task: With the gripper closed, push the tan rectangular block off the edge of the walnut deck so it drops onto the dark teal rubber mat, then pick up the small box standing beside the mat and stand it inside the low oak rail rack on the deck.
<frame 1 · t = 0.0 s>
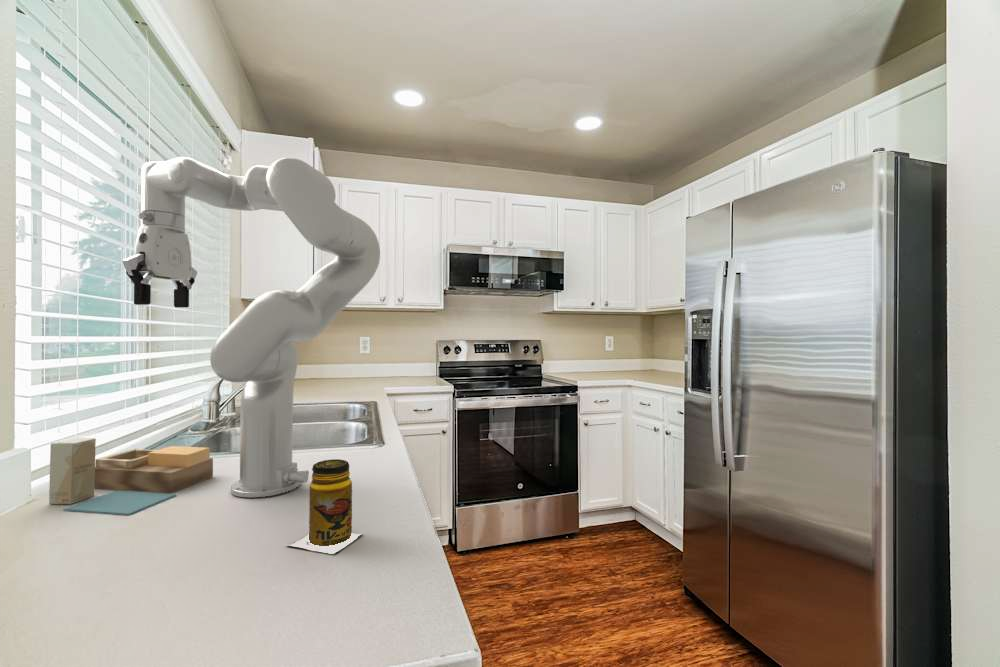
hand: (162, 306, 100), 37 cm above the countertop, tool pointing down, fingers open, 9 cm apart
box: (72, 500, 89), on the countertop
tan rectangular block: (179, 462, 100), point 4 cm above the countertop, touching deck
condiment: (326, 542, 72), on the countertop
deck: (154, 482, 100), on the countertop
mat: (122, 502, 88), on the countertop
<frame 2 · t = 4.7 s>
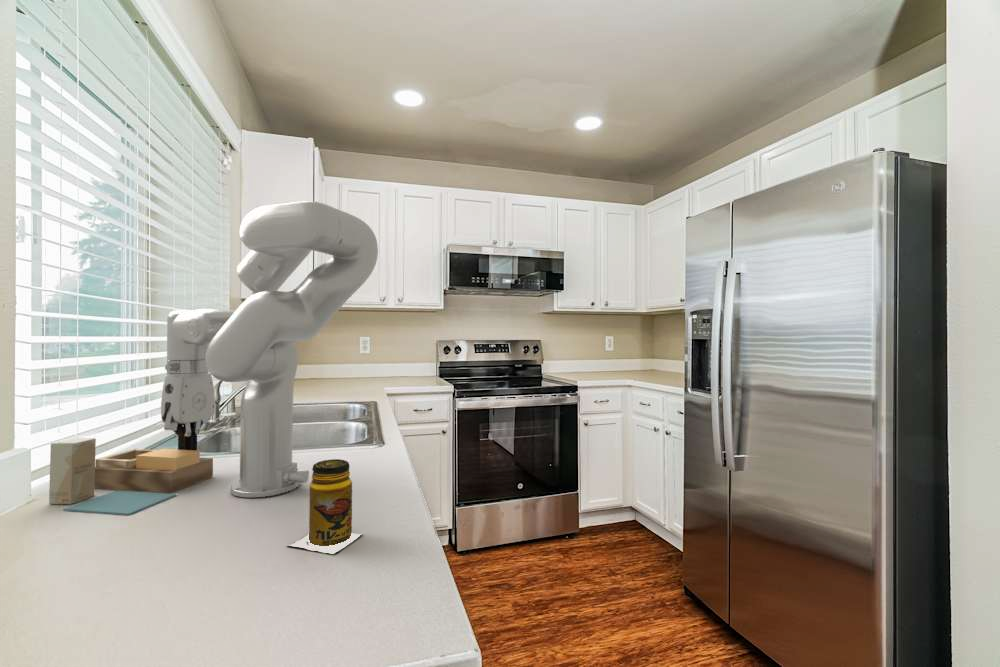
hand: (187, 453, 102), 5 cm above the countertop, tool pointing down, fingers closed
tan rectangular block: (168, 465, 98), point 4 cm above the countertop, touching gripper
everything else where it was.
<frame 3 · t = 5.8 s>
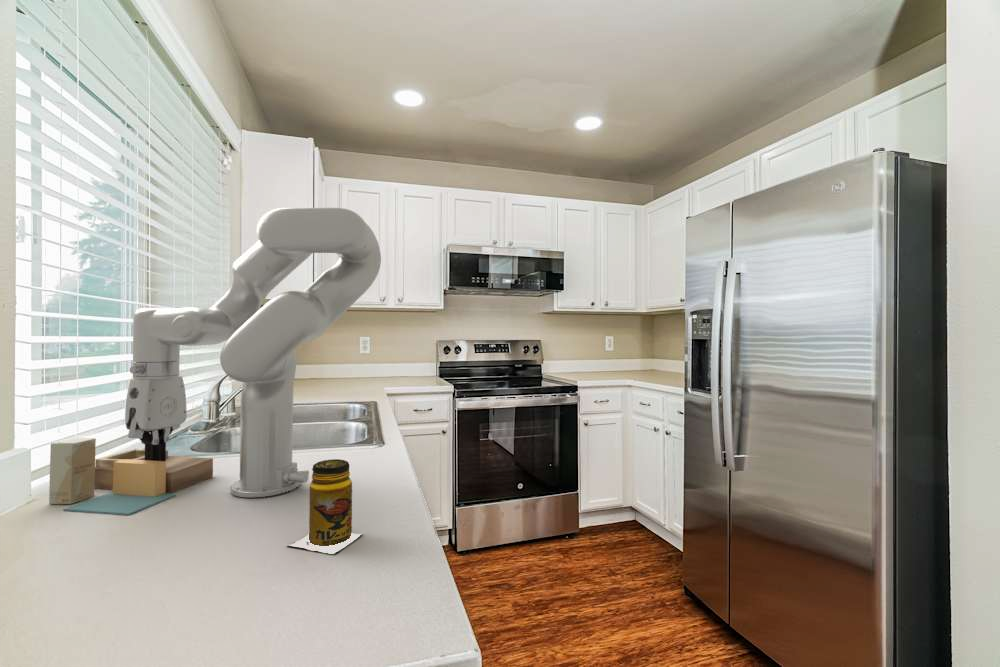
hand: (155, 463, 95), 5 cm above the countertop, tool pointing down, fingers closed
tan rectangular block: (145, 475, 93), point 3 cm above the countertop, tilted 89°, touching gripper, mat
everything else where it was.
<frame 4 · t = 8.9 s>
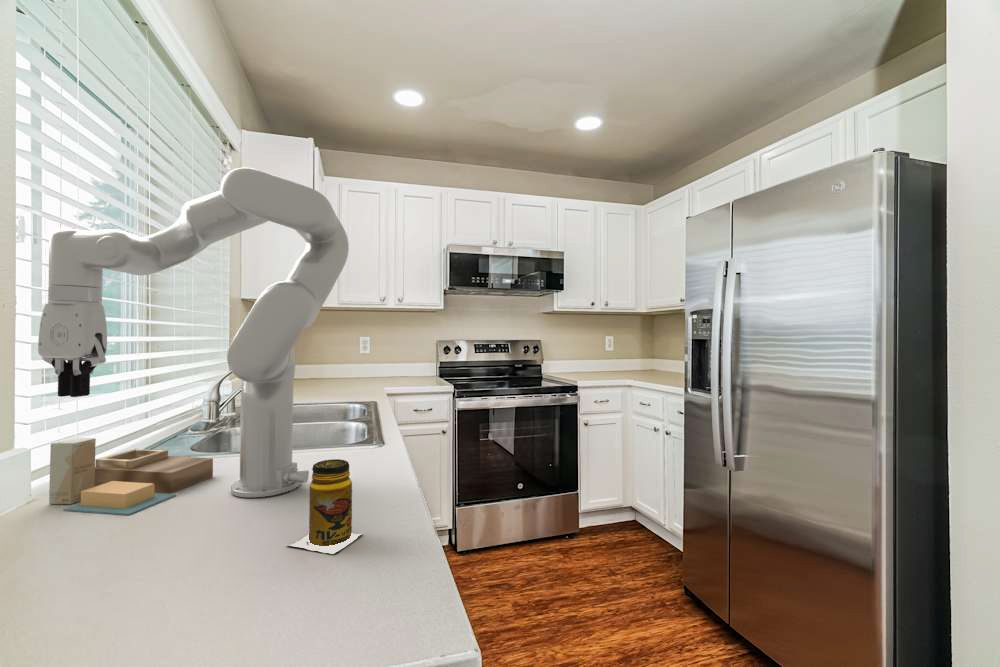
hand: (73, 395, 89), 19 cm above the countertop, tool pointing down, fingers closed
tan rectangular block: (118, 487, 88), point 3 cm above the countertop, tilted 180°, touching mat
everything else where it was.
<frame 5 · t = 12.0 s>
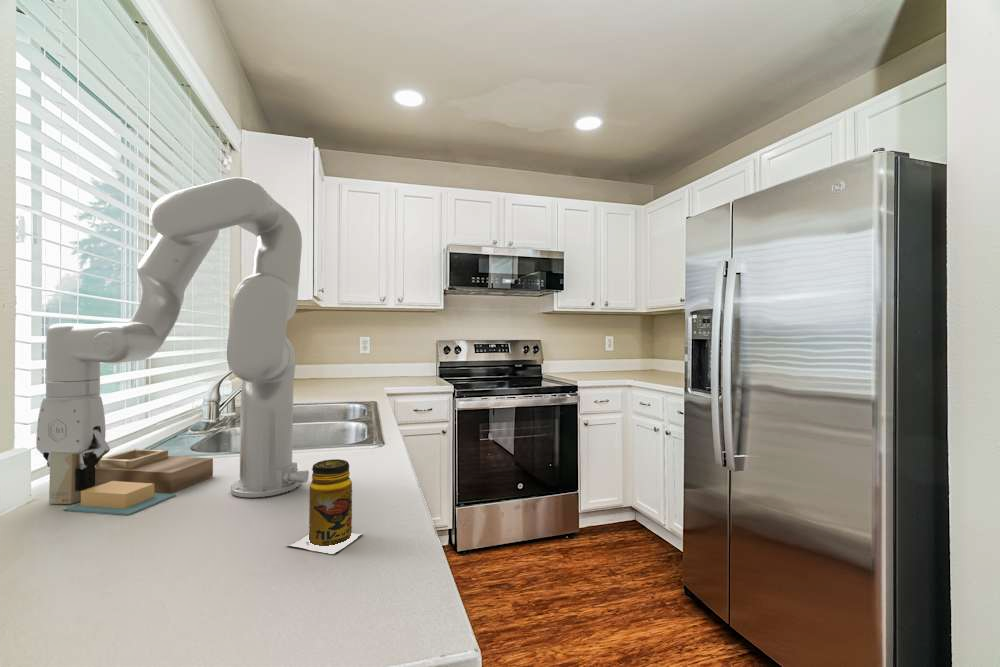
hand: (72, 486, 89), 2 cm above the countertop, tool pointing down, fingers closed on box, 4 cm apart
box: (72, 500, 89), on the countertop, touching gripper
everything else where it was.
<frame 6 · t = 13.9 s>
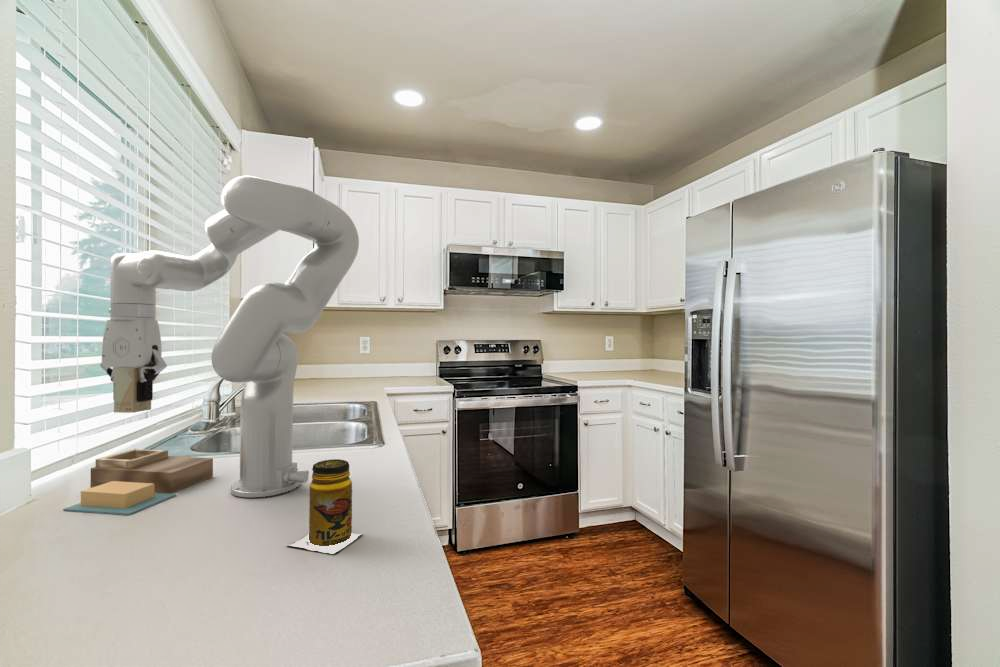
hand: (133, 399, 100), 17 cm above the countertop, tool pointing down, fingers closed on box, 4 cm apart
box: (133, 412, 100), point 14 cm above the countertop, touching gripper
everything else where it was.
when the fingers open (7 cm above the countertop, at t = 16.1 s): box stays where it is, resting on deck.
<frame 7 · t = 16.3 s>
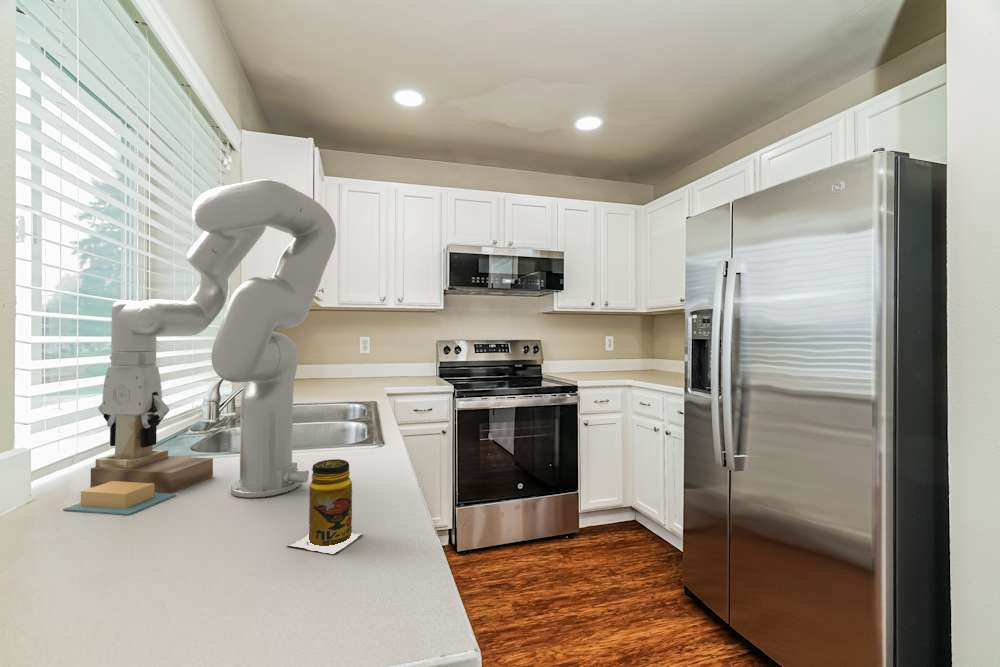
hand: (133, 444, 100), 8 cm above the countertop, tool pointing down, fingers open, 6 cm apart
box: (133, 462, 100), point 4 cm above the countertop, touching deck
everything else where it was.
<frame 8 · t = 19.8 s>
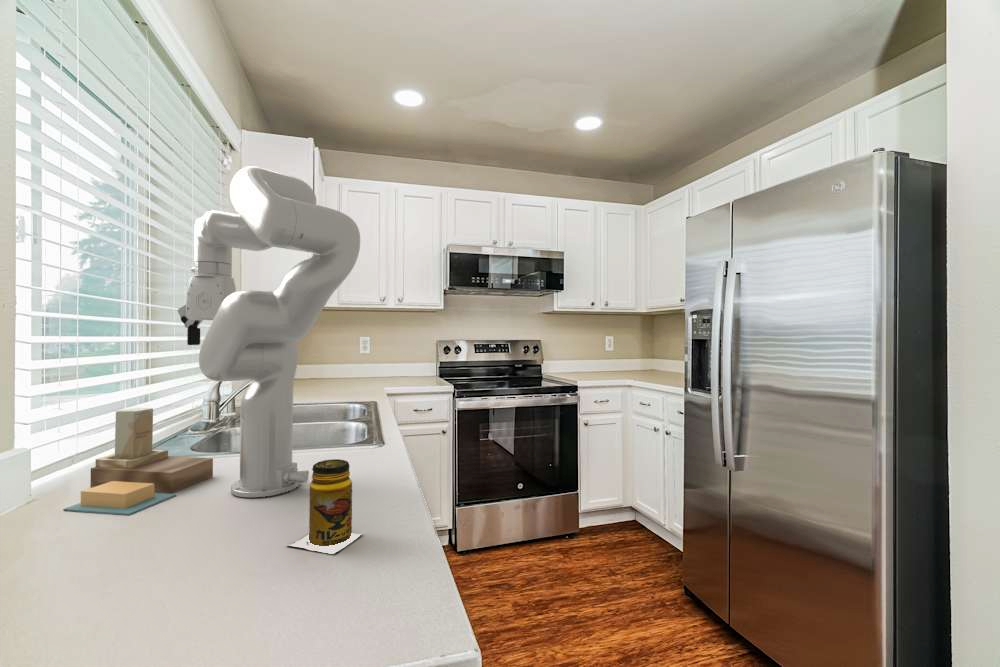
hand: (212, 345, 111), 28 cm above the countertop, tool pointing down, fingers open, 9 cm apart
nothing on the countertop moved.
at the end: tan rectangular block inside the target area on the mat (0.8 cm from its centre), point 2.8 cm above the mat's base; box inside the target area on the deck (0.2 cm from its centre), point 3.8 cm above the deck's base; box tilted 0° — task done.
